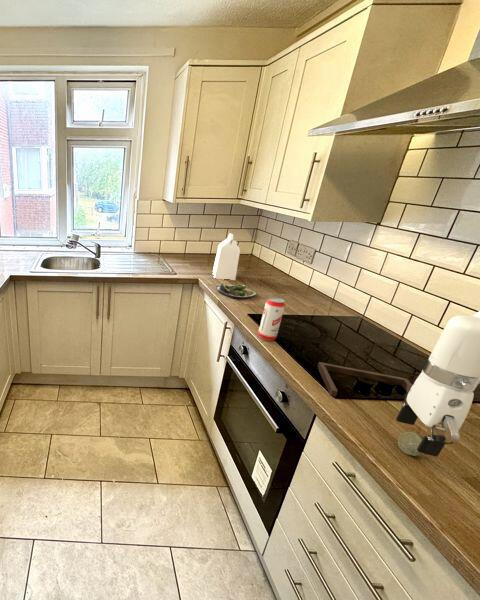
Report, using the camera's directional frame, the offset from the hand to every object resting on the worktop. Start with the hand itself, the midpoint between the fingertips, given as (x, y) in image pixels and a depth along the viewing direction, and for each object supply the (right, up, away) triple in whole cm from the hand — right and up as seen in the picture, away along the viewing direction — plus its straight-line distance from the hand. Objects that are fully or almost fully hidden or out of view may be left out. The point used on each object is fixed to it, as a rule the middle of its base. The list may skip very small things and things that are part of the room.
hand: (414, 437), depth 71 cm
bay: (+10, +4, +22) cm, 24 cm away
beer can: (-3, +16, +51) cm, 54 cm away
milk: (+13, +45, +123) cm, 131 cm away
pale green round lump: (0, -4, +2) cm, 5 cm away
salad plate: (+6, +34, +96) cm, 102 cm away
